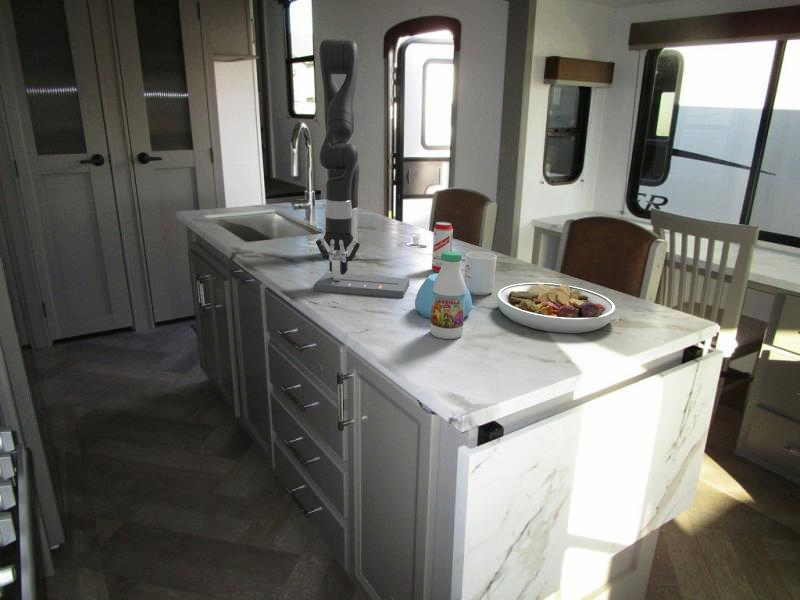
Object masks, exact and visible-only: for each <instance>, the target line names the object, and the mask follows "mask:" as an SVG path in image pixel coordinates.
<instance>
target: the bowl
mask: <svg viewBox="0 0 800 600" xmlns="http://www.w3.org/2000/svg"><path fill="white" fill-rule="evenodd" d="M497 306H498V308H499V309H500V311H501V312H502V313H503V315H505V316H506V317H507V318H508V319H510V320H511V321H513V322H514V323H518V324H519V325H521V326H525V327H526V328H530V329H534V330H540V331H543V332H551V333H558V334H583V333H589V332H594V331H597V330H600V329H601V328H602V329H603V328H604V327H606V325H608V324H609V323H610V322H611V321H612V319H613V317H614V316H615V311H616V305H615V304H614V302H612V300H610V299H609V298H608V297H606V296H604V295H602V294H599V293H598V292H594V291H592V290H588V289H584V288H581V287H577V286H572V285H568V284H559V283H558V284H557V283H548V282H547V283H546V282H525V283H515V284H511V285H508V286H507V285H506V286H505V287H502V288H501V289H500V290H498V292H497Z"/></svg>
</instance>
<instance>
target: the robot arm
mask: <svg viewBox="0 0 800 600" xmlns="http://www.w3.org/2000/svg"><path fill="white" fill-rule="evenodd" d="M319 64H320V73H321V79H322V87H323V88H322V89H323V100H324V101H323V105H324V107H323V108H324V109H323V110H324V126H325V127H324V128H325V137H324V140H323V143H322V146H321V147H320V151H319V163H320V165H321V166H322V168H324V169H325V170H327V181H326V183H325V184H326V187H325V188H326V190H325V191H326V193H325V194H326V196H325V197H326V198H325V199H326V201H325V208H324V209H325V211H324V214H325V215H324V216H325V234H324V236H323V237H322V238H319V239H317V240H316V241H315V244H316V245H317V249H318V250H319V252H320V254H321V256H322V258H323V259H324V260H327V261H329V271H330V272H329V273H332V259H334V258H335V257H336V256H337V255H341V256H342V275H344V274H347V272H348V264H349V263H348V262H351V261H352V260H353V259H355V257H356V256H357V255H358V251H359V249H360V247H361V246H362V242H361V241H360V240H359V239H358V236H359V234H358V233H359V231H358V229H359V224H358V223H359V183H360V166H359V163H358V160H359V159H358V158H359V152H358V149H357V147H356V146H355V145H354V144H352V143H349V140H350V139H351V137H352V136H353V134H354V131H355V113H354V112H355V111H354V109H353V105H354V99H355V93H356V85H357V77H358V69H359V49H358V45H357V43H356V41H355V40H351V39H323V40H322V41H321V42H320V45H319ZM334 75H345V78H344V81H343V83H342V85H341V87H340V88H339V86H338V85H337V82H336V79H335V77H334ZM358 240H359V241H358ZM326 244H327V246H328V247H329V252H328V249H327V248H326V246H325V245H326Z"/></svg>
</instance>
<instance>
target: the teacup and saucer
mask: <svg viewBox="0 0 800 600" xmlns="http://www.w3.org/2000/svg"><path fill="white" fill-rule="evenodd" d="M421 239H422V236H421V235H419V234H414V235H412V242H408V243H407V244H406V246H408V247H411V248H416V247H418V248H425V247H427V246H428V243H427V242H422V241H421ZM411 244H413V245H411Z"/></svg>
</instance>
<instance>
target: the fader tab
mask: <svg viewBox="0 0 800 600" xmlns="http://www.w3.org/2000/svg"><path fill="white" fill-rule="evenodd" d="M331 273H332V277H333V280H337V281H340V280H341V279H342V278H343V276H344V275H342V256H341V255H337V256H335V258H334V259H332V272H331Z"/></svg>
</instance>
